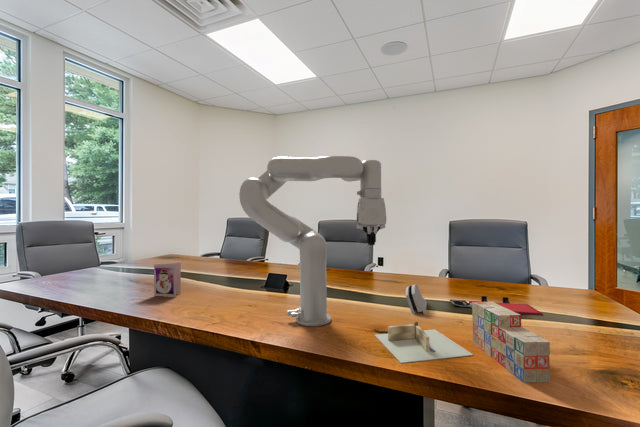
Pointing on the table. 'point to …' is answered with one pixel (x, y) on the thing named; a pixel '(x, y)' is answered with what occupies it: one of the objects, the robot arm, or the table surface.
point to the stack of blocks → (510, 342)
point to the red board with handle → (506, 304)
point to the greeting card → (167, 279)
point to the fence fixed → (402, 332)
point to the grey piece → (415, 299)
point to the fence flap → (422, 338)
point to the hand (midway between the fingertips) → (371, 244)
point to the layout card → (416, 352)
